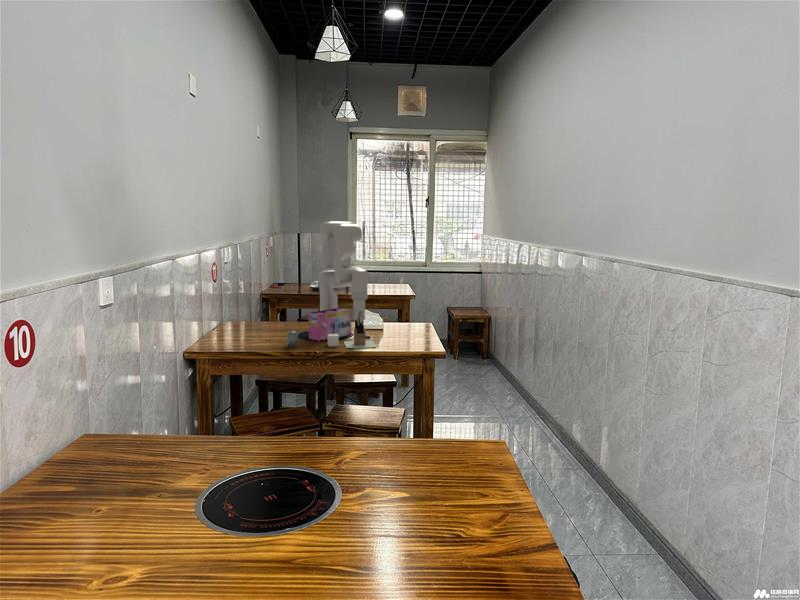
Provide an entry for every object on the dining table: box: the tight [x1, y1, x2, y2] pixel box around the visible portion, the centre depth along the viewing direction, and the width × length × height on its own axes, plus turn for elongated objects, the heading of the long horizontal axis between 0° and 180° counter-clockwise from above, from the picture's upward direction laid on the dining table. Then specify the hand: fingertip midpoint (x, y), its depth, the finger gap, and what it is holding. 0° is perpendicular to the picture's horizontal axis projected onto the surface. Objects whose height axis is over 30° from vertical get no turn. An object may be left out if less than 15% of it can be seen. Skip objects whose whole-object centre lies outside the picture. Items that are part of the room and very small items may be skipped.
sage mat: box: [343, 340, 377, 349], centre depth 266 cm, size 14×14×1 cm
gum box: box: [308, 307, 352, 342], centre depth 283 cm, size 24×8×14 cm, turn 140°
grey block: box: [326, 334, 340, 347], centre depth 265 cm, size 5×5×5 cm
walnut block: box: [353, 328, 366, 345], centre depth 265 cm, size 5×5×7 cm
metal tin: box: [286, 330, 299, 348], centre depth 261 cm, size 5×5×7 cm
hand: (359, 331), depth 265 cm, fingers open, 9 cm apart
